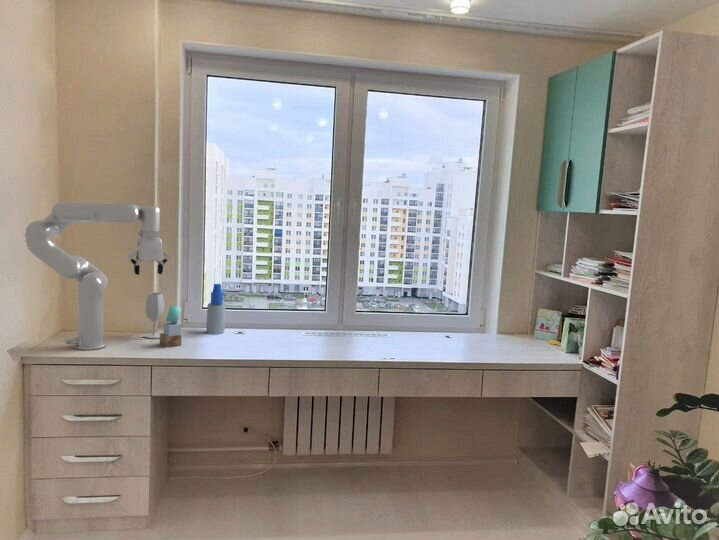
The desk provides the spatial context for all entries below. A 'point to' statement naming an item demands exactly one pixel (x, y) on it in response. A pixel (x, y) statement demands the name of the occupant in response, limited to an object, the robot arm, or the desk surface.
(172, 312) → the teal cylinder
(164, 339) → the walnut base
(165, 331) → the bluegrey cube
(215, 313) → the spray bottle
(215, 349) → the desk surface
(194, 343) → the desk surface
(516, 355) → the desk surface
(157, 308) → the wineglass
